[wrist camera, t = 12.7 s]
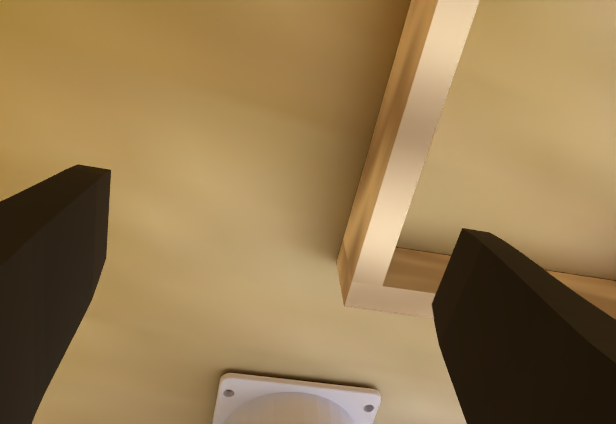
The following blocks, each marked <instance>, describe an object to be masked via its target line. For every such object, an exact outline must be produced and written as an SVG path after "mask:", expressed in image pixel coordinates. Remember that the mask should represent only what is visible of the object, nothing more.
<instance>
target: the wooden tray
mask: <svg viewBox="0 0 616 424" xmlns="http://www.w3.org/2000/svg"><path fill="white" fill-rule="evenodd" d="M478 3H479V0H411V3H410V7H409V10H408V14H407V17H406V21H405V24H404V28H403V31H402V35H401V38H400V42H399V45H398V49H397V52H396V56H395V59H394V63H393V66H392V70H391V73H390V77H389V80H388V84H387V87H386V91H385V94H384V98H383V101H382V105H381V108H380V112H379V115H378V119H377V122H376V126H375V129H374V133H373V136H372V140H371V143H370V147H369V150H368V154H367V157H366V161H365V164H364V168H363V171H362V175H361V178H360V182H359V185H358V189H357V192H356V196H355V199H354V203H353V206H352V210H351V213H350V217H349V220H348V224H347V227H346V231H345V234H344V238H343V241H342V245H341V248H340V252H339V255H338V259H337V262H336V263H337V268H338V274H339V280H340V285H341V291H342V297H343V303H344V307H351V308H359V309H366V310H374V311H381V312H389V313H396V314H403V315H411V316H418V317H426V318H433V319H434V316H433V310H432V302H433V299H434V297H435V294H436V292H437V289H438V287H439V285H440V282H441V280H442V277H443V275H444V272H445V270H446V267H447V265H448V262H449V260H450V257H451V256H449V255H443V254H436V253H430V252H423V251H417V250H410V249H404V248H397V247H396V244H397V241H398V238H399V235H400V233H401V230H402V227H403V224H404V221H405V218H406V215H407V212H408V209H409V206H410V203H411V200H412V197H413V194H414V191H415V188H416V186H417V183H418V180H419V177H420V174H421V171H422V168H423V165H424V162H425V159H426V156H427V153H428V150H429V147H430V144H431V141H432V138H433V136H434V133H435V130H436V127H437V124H438V121H439V118H440V115H441V112H442V109H443V106H444V103H445V100H446V97H447V94H448V91H449V89H450V86H451V83H452V80H453V77H454V74H455V71H456V68H457V65H458V62H459V59H460V56H461V53H462V50H463V47H464V44H465V42H466V39H467V36H468V33H469V30H470V27H471V24H472V21H473V18H474V15H475V12H476V9H477V6H478ZM545 271H547V270H545ZM547 272H548V273H549V274H551V275H552V276H554V277H555V278H556V279H558V280H559V281H560V282H562V283H563V284H565V285H566V286H567V287H569V288H570V289H572V290H573V291H574V292H576V293H577V294H579V295H580V296H582V297H583V298H584V299H586V300H587V301H589V302H590V303H592V304H593V305H595V306H596V307H598V308H599V309H601V310H602V311H604V312H605V313H607V314H608V315H610V316H611V317H613V318H614V319H616V281H612V280H606V279H599V278H593V277H586V276H580V275H573V274H567V273H560V272H554V271H547Z"/></svg>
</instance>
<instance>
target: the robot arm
mask: <svg viewBox="0 0 616 424" xmlns="http://www.w3.org/2000/svg"><path fill="white" fill-rule="evenodd" d="M110 178H111V170H108V169H102V168H96V167H90V166H84V165H76V166H73V167H71V168H68V169H66V170H64V171H62V172H60V173H58V174H56V175H54V176H52V177H50V178H48V179H46V180H44V181H42V182H40V183H38V184H36V185H34V186H32V187H30V188H28V189H26V190H24V191H22V192H20V193H18V194H16V195H14V196H11V197H9V198H7V199H5V200H3V201H1V202H0V424H32V421H33V418H34V416H35V413H36V411H37V409H38V407H39V405H40V402H41V400H42V398H43V396H44V394H45V391H46V389H47V387H48V386H49V384H50V382H51V380H52V378H53V376H54V374H55V372H56V370H57V368H58V366H59V364H60V362H61V360H62V358H63V356H64V354H65V352H66V350H67V348H68V346H69V344H70V342H71V340H72V338H73V337H74V335H75V333H76V331H77V329H78V327H79V325H80V323H81V321H82V319H83V317H84V315H85V313H86V311H87V309H88V307H89V305H90V302H91V300H92V298H93V295H94V292H95V289H96V287H97V284H98V281H99V278H100V275H101V272H102V269H103V266H104V263H105V260H106V250H107V232H108V214H109V196H110ZM432 310H433V316H434V322H435V327H436V332H437V337H438V342H439V346H440V349H441V352H442V355H443V358H444V361H445V364H446V366H447V369H448V372H449V375H450V378H451V381H452V383H453V386H454V389H455V392H456V395H457V397H458V400H459V403H460V406H461V408H462V411H463V414H464V417H465V420H466V422H467V424H616V319H614V318H613V317H611V316H610V315H608V314H607V313H605V312H604V311H602V310H601V309H599V308H598V307H596V306H595V305H593V304H592V303H590V302H589V301H587V300H586V299H584V298H583V297H582V296H580V295H579V294H577V293H576V292H574V291H573V290H572V289H570V288H569V287H567V286H566V285H565V284H563V283H562V282H560V281H559V280H558V279H556V278H555V277H554V276H552V275H551V274H549V273H548V272H547V271H545V270H544V269H543V268H541V267H540V266H539V265H537V264H536V263H535V262H533V261H532V260H530V259H529V258H528V257H526V256H525V255H524V254H522V253H521V252H519V251H518V250H517V249H515V248H514V247H512V246H511V245H509V244H508V243H506V242H505V241H503V240H502V239H500V238H498V237H497V236H495V235H493V234H491V233H489V232H483V231H476V230H470V229H464V228H462V230H461V233H460V235H459V238H458V240H457V243H456V245H455V248H454V250H453V253H452V255H451V257H450V260H449V262H448V265H447V267H446V270H445V272H444V275H443V277H442V280H441V282H440V285H439V287H438V289H437V292H436V294H435V297H434V299H433V302H432ZM228 389H230V390H232V391H227V390H228ZM380 403H381V395H380V393H379V391H377V390H375V389H370V388H361V387H352V386H343V385H334V384H326V383H317V382H308V381H299V380H290V379H281V378H273V377H264V376H255V375H246V374H237V373H227V374H224V375H223V376H222V377H221V379H220V383H219V388H218V394H217V399H216V404H215V410H214V415H213V420H212V424H373V421H374V419H375V416H376V413H377V411H378V408H379V406H380ZM366 405H369V406H366Z"/></svg>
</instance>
